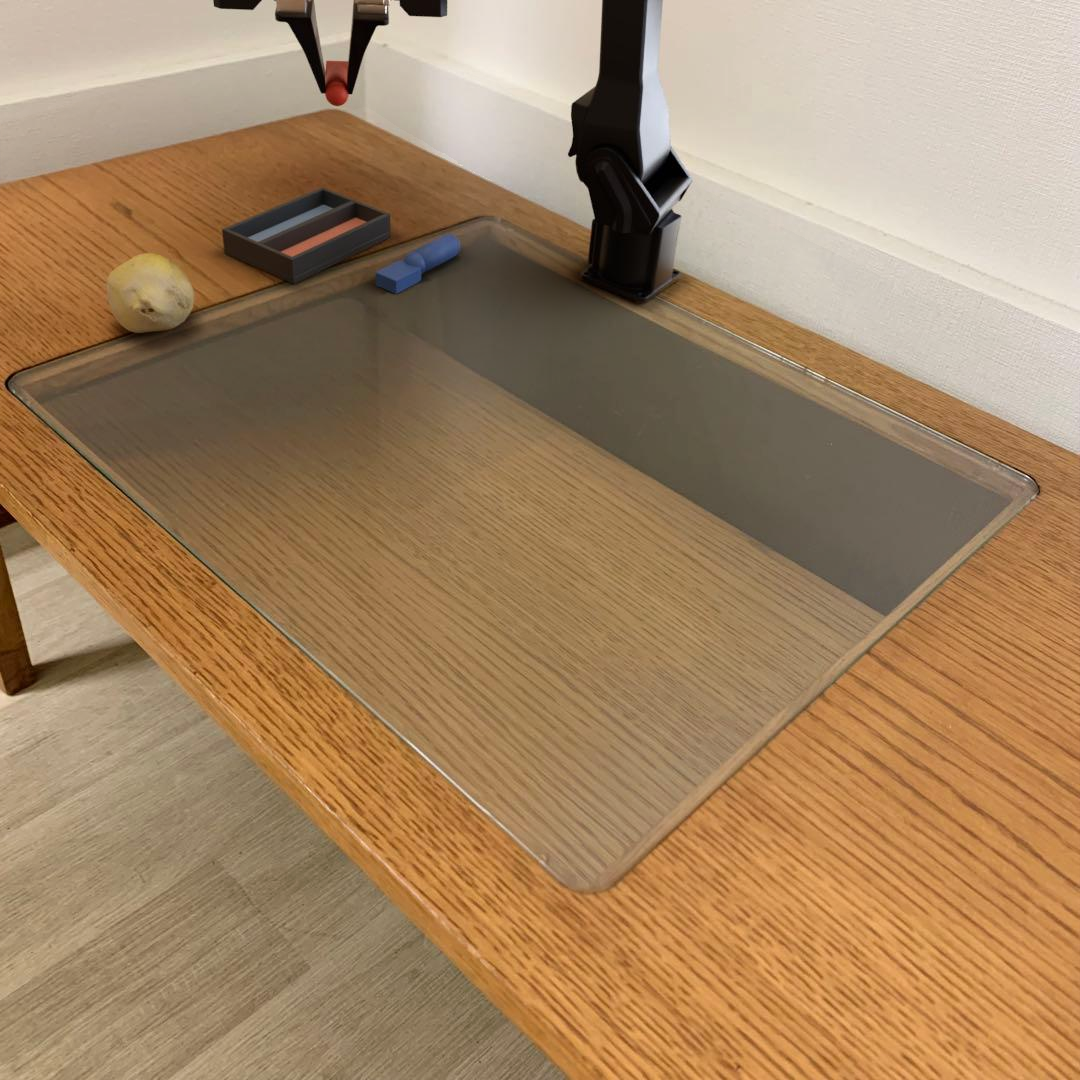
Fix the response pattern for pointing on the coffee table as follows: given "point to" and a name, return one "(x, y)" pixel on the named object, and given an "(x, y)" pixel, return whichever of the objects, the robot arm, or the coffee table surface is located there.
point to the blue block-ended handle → (417, 263)
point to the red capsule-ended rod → (336, 82)
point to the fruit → (149, 294)
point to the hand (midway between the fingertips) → (336, 92)
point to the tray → (306, 234)
